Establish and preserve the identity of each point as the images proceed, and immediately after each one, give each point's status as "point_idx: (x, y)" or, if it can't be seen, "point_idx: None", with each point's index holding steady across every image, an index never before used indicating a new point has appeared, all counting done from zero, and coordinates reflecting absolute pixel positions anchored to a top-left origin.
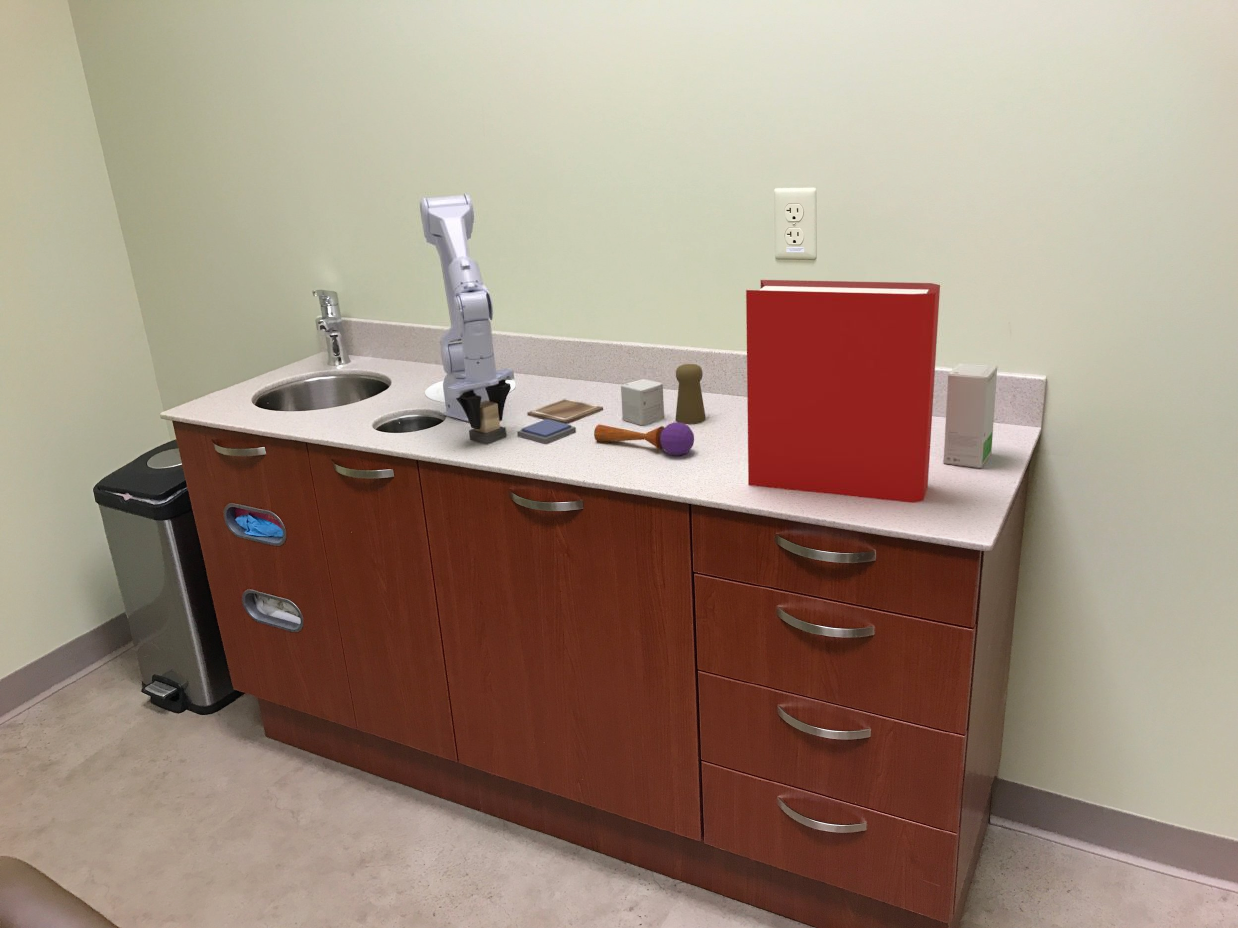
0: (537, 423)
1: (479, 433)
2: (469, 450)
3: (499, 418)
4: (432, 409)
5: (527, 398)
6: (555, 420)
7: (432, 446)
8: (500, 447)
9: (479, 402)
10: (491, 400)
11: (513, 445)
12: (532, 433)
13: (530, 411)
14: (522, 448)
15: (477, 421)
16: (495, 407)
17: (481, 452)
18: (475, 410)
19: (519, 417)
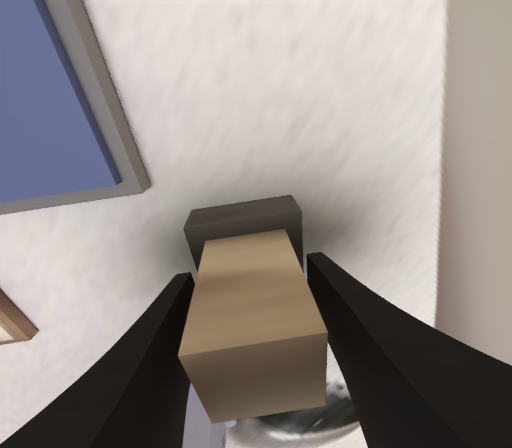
0: (8, 188)
1: (301, 247)
2: (366, 191)
3: (187, 281)
4: (231, 442)
5: (5, 415)
6: None
7: (391, 294)
8: (275, 123)
9: (434, 389)
10: (177, 412)
11: (219, 95)
12: (81, 93)
13: (17, 341)
14: (208, 4)
15: (345, 271)
16: (206, 326)
17: (360, 134)
18: (411, 323)
19: (72, 330)
